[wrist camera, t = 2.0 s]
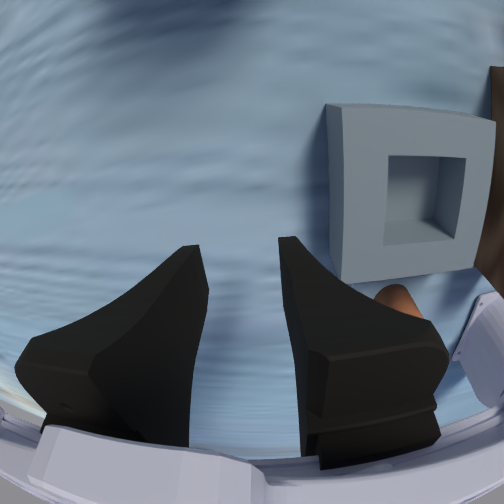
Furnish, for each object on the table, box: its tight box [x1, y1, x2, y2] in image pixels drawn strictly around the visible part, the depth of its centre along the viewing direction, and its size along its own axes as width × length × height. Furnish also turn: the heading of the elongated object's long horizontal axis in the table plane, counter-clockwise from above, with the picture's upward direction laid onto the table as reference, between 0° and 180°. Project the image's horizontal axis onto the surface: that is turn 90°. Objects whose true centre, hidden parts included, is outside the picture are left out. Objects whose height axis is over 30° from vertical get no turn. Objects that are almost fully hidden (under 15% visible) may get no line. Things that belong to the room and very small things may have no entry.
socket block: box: [325, 104, 496, 284], centre depth 16 cm, size 10×10×4 cm
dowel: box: [374, 284, 424, 319], centre depth 19 cm, size 3×3×8 cm
